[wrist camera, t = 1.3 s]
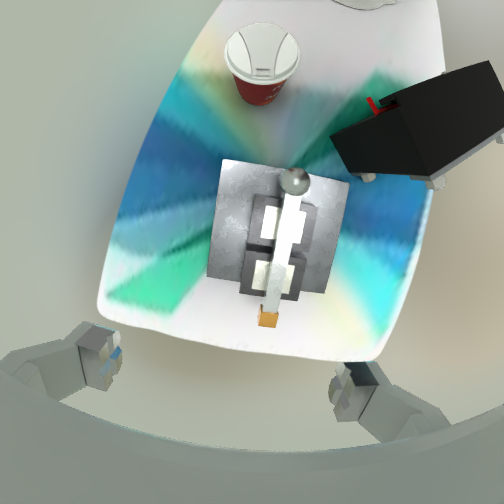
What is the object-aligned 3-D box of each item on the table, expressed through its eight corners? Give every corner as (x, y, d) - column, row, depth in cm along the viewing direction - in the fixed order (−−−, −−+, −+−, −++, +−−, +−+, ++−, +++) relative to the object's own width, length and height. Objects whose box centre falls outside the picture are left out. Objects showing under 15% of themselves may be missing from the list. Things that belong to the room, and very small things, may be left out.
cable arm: (282, 165, 31) (284, 164, 28) (308, 170, 31) (312, 170, 29) (254, 316, 36) (254, 325, 34) (277, 319, 36) (279, 328, 34)
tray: (224, 159, 37) (219, 156, 31) (346, 182, 38) (363, 185, 32) (207, 273, 41) (201, 290, 35) (321, 289, 42) (332, 308, 36)
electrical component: (355, 185, 38) (437, 200, 19) (322, 125, 36) (385, 87, 16) (432, 141, 36) (520, 137, 16) (405, 87, 33) (485, 54, 14)
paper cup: (285, 113, 35) (304, 83, 22) (230, 112, 35) (221, 80, 22) (284, 66, 33) (301, 20, 19) (232, 65, 33) (224, 17, 19)
